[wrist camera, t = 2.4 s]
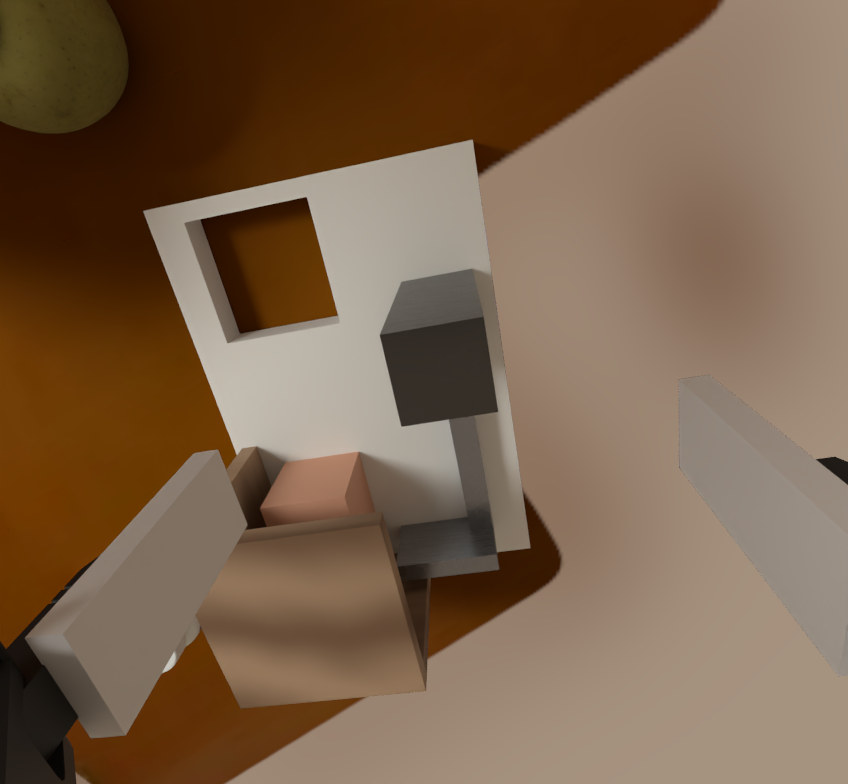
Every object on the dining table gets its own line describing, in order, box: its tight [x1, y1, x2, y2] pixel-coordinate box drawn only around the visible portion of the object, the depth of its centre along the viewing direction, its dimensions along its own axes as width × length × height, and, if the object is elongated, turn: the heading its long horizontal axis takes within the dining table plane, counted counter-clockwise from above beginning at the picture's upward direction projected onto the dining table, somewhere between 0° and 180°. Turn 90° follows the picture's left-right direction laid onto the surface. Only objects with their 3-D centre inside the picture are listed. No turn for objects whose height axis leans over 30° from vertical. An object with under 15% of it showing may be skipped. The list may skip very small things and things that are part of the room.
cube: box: [260, 451, 375, 527], centre depth 32 cm, size 5×5×5 cm
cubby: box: [195, 446, 431, 708], centre depth 31 cm, size 11×10×10 cm
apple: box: [0, 0, 129, 134], centre depth 24 cm, size 8×8×7 cm
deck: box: [143, 140, 531, 554], centre depth 33 cm, size 26×18×2 cm
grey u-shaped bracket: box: [380, 269, 499, 581], centre depth 28 cm, size 18×8×10 cm, turn 11°
